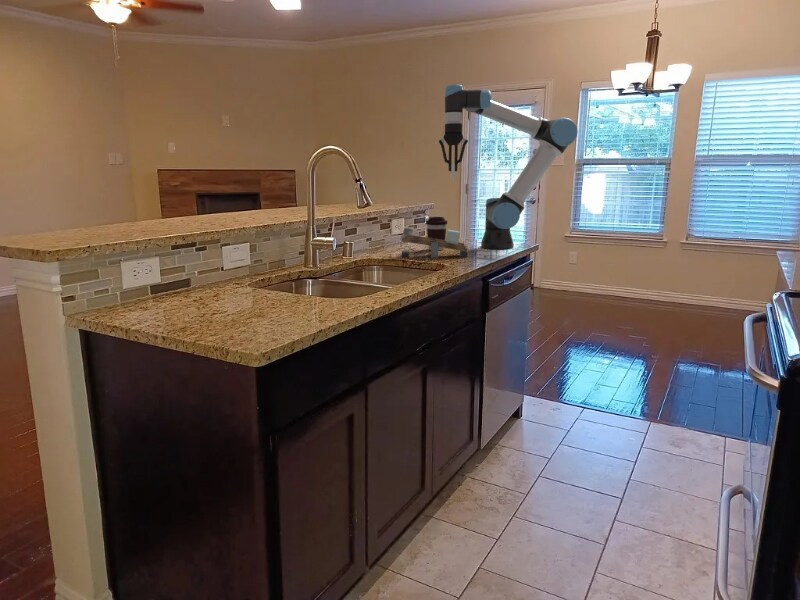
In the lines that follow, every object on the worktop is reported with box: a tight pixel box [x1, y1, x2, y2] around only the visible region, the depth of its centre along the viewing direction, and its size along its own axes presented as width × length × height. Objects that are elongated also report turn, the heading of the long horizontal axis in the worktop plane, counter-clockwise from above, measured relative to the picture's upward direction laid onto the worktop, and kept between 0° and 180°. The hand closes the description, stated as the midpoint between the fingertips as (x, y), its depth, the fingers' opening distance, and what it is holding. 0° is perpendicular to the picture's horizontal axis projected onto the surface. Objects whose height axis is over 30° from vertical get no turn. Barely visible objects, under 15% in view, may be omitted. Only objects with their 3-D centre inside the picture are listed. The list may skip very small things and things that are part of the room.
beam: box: [401, 226, 468, 252], centre depth 241 cm, size 28×9×6 cm, turn 87°
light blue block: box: [445, 229, 461, 244], centre depth 241 cm, size 5×5×6 cm
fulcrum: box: [401, 242, 468, 259], centre depth 242 cm, size 28×12×7 cm, turn 87°
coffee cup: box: [425, 216, 448, 251], centre depth 261 cm, size 10×10×15 cm
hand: (452, 179), depth 247 cm, fingers closed
